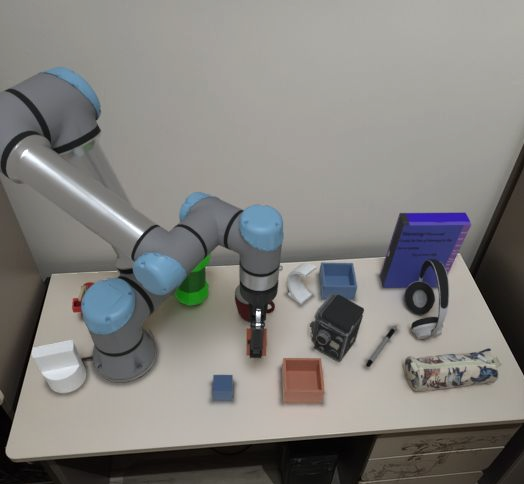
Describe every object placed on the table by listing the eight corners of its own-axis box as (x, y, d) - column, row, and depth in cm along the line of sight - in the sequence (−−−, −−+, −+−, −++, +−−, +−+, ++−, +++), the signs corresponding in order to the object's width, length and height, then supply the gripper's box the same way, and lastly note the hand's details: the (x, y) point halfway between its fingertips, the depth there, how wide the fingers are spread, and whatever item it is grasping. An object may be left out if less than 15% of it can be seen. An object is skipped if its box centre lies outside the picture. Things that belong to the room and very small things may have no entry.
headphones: (442, 350, 127) (469, 301, 112) (410, 350, 127) (433, 301, 112) (426, 295, 140) (448, 243, 124) (396, 294, 140) (416, 243, 124)
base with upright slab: (85, 357, 122) (72, 329, 113) (87, 388, 117) (74, 361, 108) (48, 365, 121) (32, 337, 111) (48, 396, 115) (31, 369, 106)
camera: (322, 322, 132) (330, 285, 121) (356, 341, 129) (368, 305, 117) (301, 347, 127) (307, 311, 115) (337, 368, 123) (347, 333, 111)
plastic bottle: (170, 311, 132) (165, 239, 114) (176, 283, 139) (172, 212, 121) (207, 314, 132) (208, 243, 114) (211, 286, 139) (212, 215, 121)
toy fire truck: (99, 290, 137) (91, 266, 129) (93, 329, 128) (84, 306, 121) (86, 291, 136) (78, 267, 129) (80, 330, 128) (70, 307, 120)
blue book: (437, 275, 145) (465, 211, 127) (441, 287, 142) (471, 224, 124) (379, 275, 144) (399, 212, 126) (382, 288, 141) (404, 224, 123)
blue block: (213, 400, 116) (212, 391, 112) (214, 384, 119) (213, 374, 115) (232, 401, 116) (231, 391, 113) (232, 384, 119) (232, 374, 116)
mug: (273, 305, 135) (275, 280, 128) (274, 328, 130) (276, 304, 123) (234, 305, 135) (234, 281, 127) (235, 328, 130) (234, 304, 122)
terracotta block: (246, 356, 110) (246, 344, 107) (246, 339, 113) (246, 328, 110) (266, 356, 110) (266, 344, 107) (265, 339, 113) (266, 328, 110)
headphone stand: (300, 304, 136) (305, 275, 127) (285, 292, 138) (288, 263, 129) (311, 296, 138) (316, 266, 129) (296, 284, 141) (300, 254, 131)
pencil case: (478, 361, 126) (493, 339, 118) (492, 390, 120) (508, 369, 113) (396, 369, 123) (406, 347, 116) (406, 399, 118) (418, 378, 110)
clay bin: (283, 402, 116) (284, 391, 112) (281, 369, 122) (283, 357, 118) (321, 403, 117) (324, 391, 112) (318, 370, 122) (321, 358, 118)
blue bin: (321, 299, 137) (323, 286, 133) (318, 275, 143) (321, 262, 139) (353, 299, 138) (357, 286, 134) (349, 275, 144) (353, 262, 139)
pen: (364, 365, 124) (365, 362, 123) (394, 324, 132) (395, 321, 131) (369, 368, 123) (370, 365, 122) (398, 327, 132) (399, 324, 131)
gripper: (280, 314, 88) (272, 380, 106) (277, 246, 99) (271, 317, 117) (238, 313, 88) (238, 380, 106) (240, 245, 99) (240, 316, 117)
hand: (255, 347), depth 111 cm, fingers closed on terracotta block, 4 cm apart
